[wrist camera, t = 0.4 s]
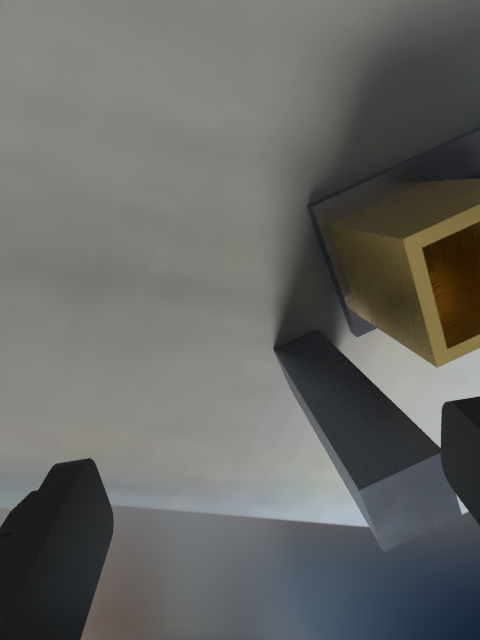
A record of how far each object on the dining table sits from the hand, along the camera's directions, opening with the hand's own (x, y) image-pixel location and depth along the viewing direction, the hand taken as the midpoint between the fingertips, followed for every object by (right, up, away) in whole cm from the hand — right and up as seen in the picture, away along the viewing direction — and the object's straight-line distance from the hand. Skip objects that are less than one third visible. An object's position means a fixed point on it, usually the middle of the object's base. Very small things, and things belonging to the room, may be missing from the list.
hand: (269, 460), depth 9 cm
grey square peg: (+5, 0, +23) cm, 24 cm away
